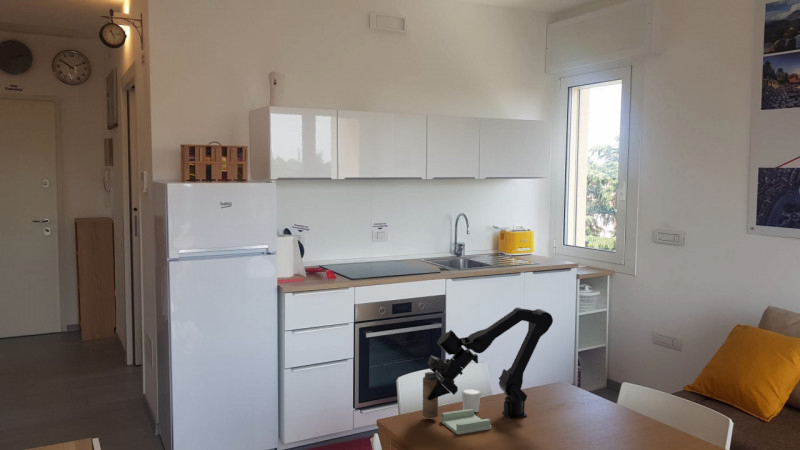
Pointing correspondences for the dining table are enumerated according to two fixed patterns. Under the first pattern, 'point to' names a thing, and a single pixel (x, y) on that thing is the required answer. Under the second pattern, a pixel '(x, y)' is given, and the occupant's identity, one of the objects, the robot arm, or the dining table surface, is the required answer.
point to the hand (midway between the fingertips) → (426, 396)
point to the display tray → (464, 421)
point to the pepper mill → (428, 385)
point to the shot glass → (471, 399)
